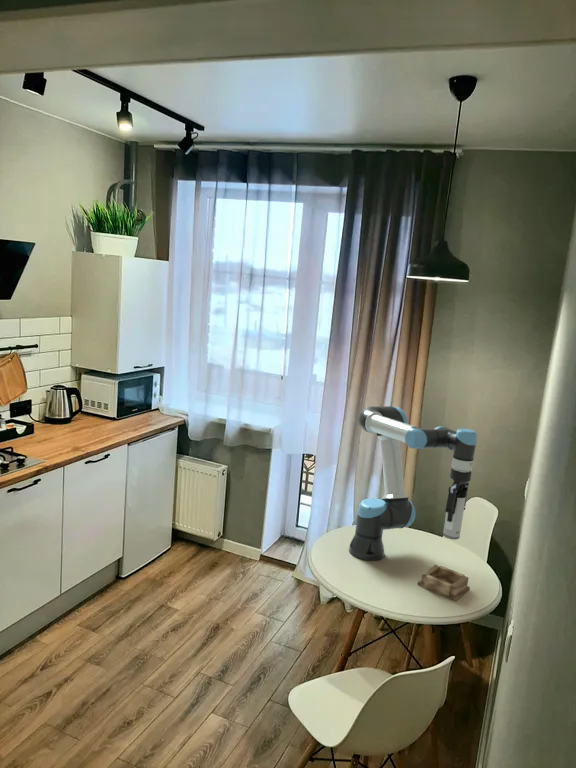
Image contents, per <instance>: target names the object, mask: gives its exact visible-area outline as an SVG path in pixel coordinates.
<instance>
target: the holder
mask: <svg viewBox="0 0 576 768" xmlns="http://www.w3.org/2000/svg"><path fill="white" fill-rule="evenodd" d="M468 583H469V577H467V576H465V574H464V573H461V572H459V571H455V570H453V569H450V568H448V567H445V566H443V565H437V564H434V565H433V566H431V567H430V568H428V569H427V570H425V571H424V572H422V574H421V579H420V580H418V581H417V586H420V587H422V588H424V589H427V590H429V591H431V592H434V593H435V594H438V595H440V596H443V597H445V598H448V599H450V600H452V601H454V602H457V601H458V600H460V599H461V598H462V597H464V595H466V594H468V592H469V591H470V589H471V587H470V586H468V585H469V584H468Z"/></svg>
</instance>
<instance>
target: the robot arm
mask: <svg viewBox="0 0 576 768" xmlns="http://www.w3.org/2000/svg"><path fill="white" fill-rule="evenodd" d="M358 425H359V427H360V429H362V431H364V432H367V433H370V434H376V437H377V439H379V440H380V447H381V459H382V461H381V462H382V470H383V471H382V472H383V482H384V483H383V485H384V495H383V496H382V497H381V499H380V498H374V497H373V498H372V497H371V498H370V497H369V498H365V499H363V500H361V501H360V502H359V505H358V509H357V516H356V525H355V533H354V535H353V537H352V540H351V542H350V543H349V548H348V552H349V553H350V554H351V556H353V557H355V558H357V559H361V560H365V561H379V560H382V559H383V558H384V556H385V548H384V547H385V546H384V542H383V533H384V530H385V531H386V530H394V529H403V528H408V527H410V526H411V525H412V524H413V522H414V520H415V518H416V508H415V507H416V506H415V505H414V504H413V502H412V501H411V500H410V499H409V495H408V494H406V493H405V484H404V483H405V482H404V471H403V470H404V469H403V460H402V449H401V443H404V444H406V445H407V447H408V448H410V449H414V450H420V449H421V450H423V449H447V450H451V451H452V452H453V455H452V461H451V469H450V473H449V474H450V475H449V477H450V479H452V480H453V483H452V485H451V486H449V487H448V495H447V501H446V505H445V510H444V512H445V513H446V512H448V514H447V521H446V529H449V530H453V526H454V519H455V514H454V512H455V509H456V505H457V498H458V497H459V496H460V493H459V494H458V495H456V492H457V491H462V490H464V489H465V488H468V489H469V484H470V483H469V482H470V481H471V479H472V471H473V467H474V465H475V464H474V457H475V451H476V447H477V446H476V445H477V438H478V436H477V435H478V434H477V432H476V430H473V429H468V428H457V430H454V429H452V428H449V427H446V426H441V425H440V426H436V427H434V428H422V427H418V426H416V425H413V424H409V423H408V419H407V414H406V413H405V411H404V410H403V409H402V408H401V407H398V406H392V405H391V406H388V405H387V406H376V405H375V406H374V405H373V406H367V407H366V408H364V409H362V411H361V412H360V413H359V415H358ZM467 496H468V491H467V490H466V498H465V505H464V511H465V510H466V505H467Z"/></svg>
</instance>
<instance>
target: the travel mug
mask: <svg viewBox="0 0 576 768" xmlns="http://www.w3.org/2000/svg"><path fill="white" fill-rule="evenodd" d="M466 490H467V492H468V491H469V487H468V488H465V489H464V490H462V491H457V492H456V495H458V494H459V493H460V496H459V497H458V498H457V505H456V509H455V512H454V514H455V519H454V526H453V530H449V529H446V521H447V514H448V512H445V519H444V525H443V532H442V535H443V537H445V538H446V539H449V540H454V541H455V540H459V539H460V537H461V531H462V523H463V517H464V511H465V510H464V505H465V498H466ZM466 499H467V498H466Z"/></svg>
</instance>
